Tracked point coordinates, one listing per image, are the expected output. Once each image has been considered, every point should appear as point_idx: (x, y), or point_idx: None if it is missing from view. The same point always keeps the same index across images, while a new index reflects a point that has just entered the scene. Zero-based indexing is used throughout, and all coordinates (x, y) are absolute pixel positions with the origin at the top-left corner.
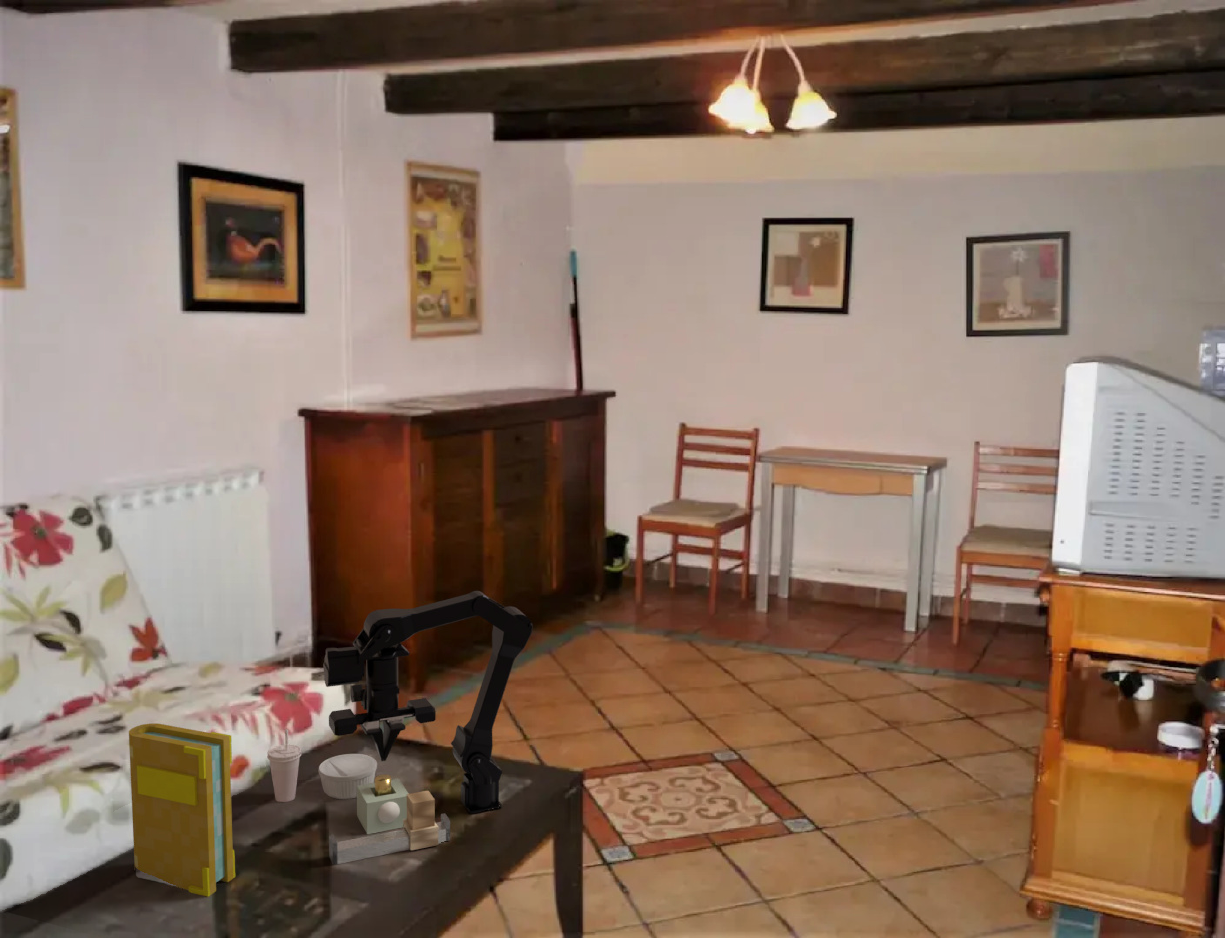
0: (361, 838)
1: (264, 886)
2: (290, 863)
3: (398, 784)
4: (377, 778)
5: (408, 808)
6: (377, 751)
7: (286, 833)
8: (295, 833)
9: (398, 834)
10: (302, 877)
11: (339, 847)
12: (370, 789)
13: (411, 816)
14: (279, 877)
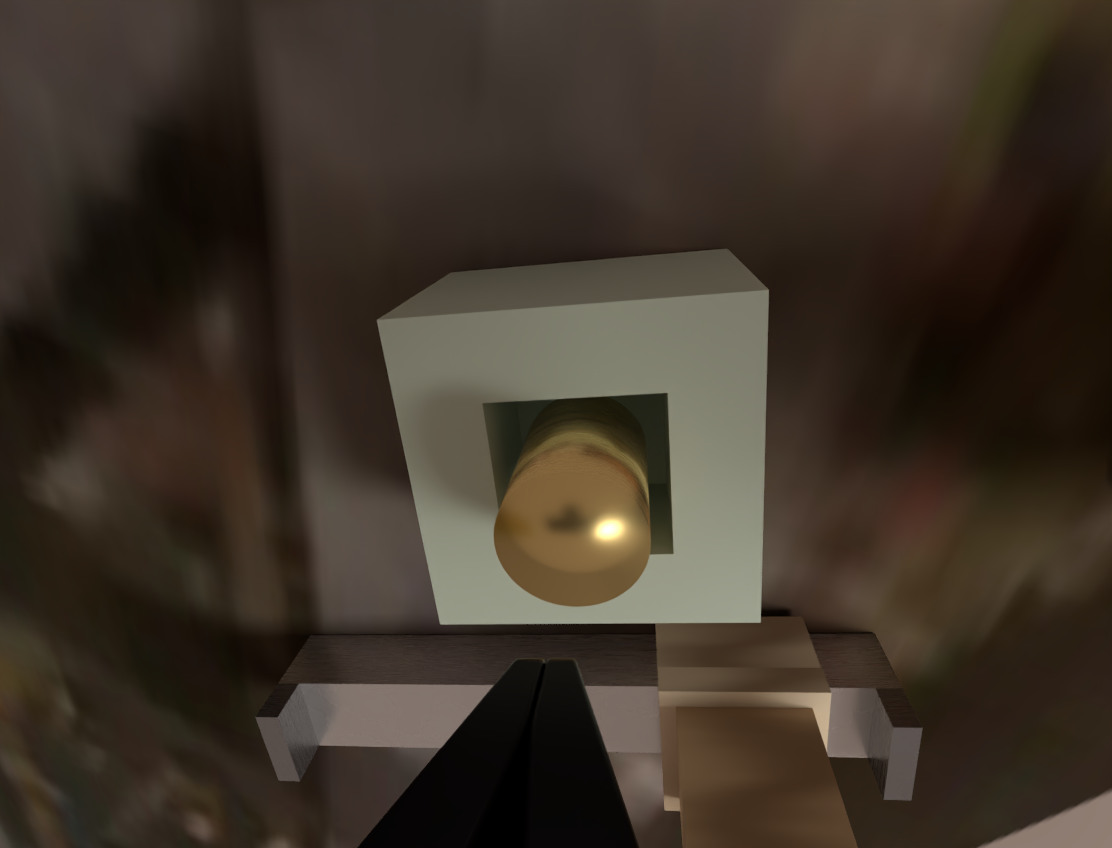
0: (429, 692)
1: (97, 729)
2: (157, 624)
3: (731, 414)
4: (518, 536)
5: (683, 822)
6: (454, 737)
7: (79, 357)
8: (126, 373)
9: (613, 719)
10: (220, 725)
11: (327, 725)
12: (484, 428)
13: (683, 846)
14: (136, 697)
